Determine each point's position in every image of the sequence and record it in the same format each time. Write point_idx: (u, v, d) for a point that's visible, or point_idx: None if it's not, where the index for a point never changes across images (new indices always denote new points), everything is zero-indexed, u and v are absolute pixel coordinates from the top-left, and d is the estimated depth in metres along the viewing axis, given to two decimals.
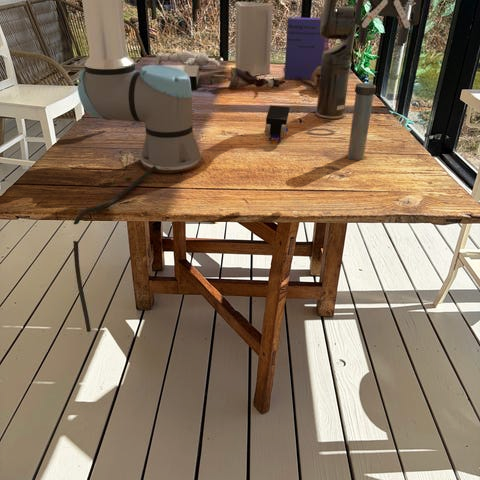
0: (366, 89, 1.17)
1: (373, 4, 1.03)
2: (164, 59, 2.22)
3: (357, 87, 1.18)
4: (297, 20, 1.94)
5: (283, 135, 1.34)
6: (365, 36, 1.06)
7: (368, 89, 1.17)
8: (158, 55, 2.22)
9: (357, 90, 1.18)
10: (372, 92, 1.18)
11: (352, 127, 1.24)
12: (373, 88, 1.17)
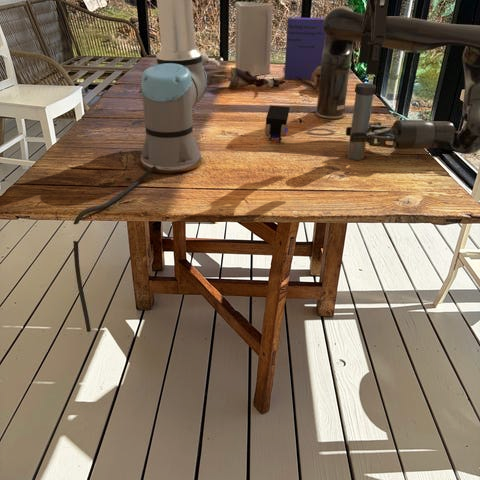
0: (366, 89, 1.17)
1: None
2: None
3: (357, 87, 1.18)
4: (297, 20, 1.94)
5: (283, 135, 1.34)
6: None
7: (368, 89, 1.17)
8: None
9: (357, 90, 1.18)
10: (372, 92, 1.18)
11: (352, 127, 1.24)
12: (373, 88, 1.17)
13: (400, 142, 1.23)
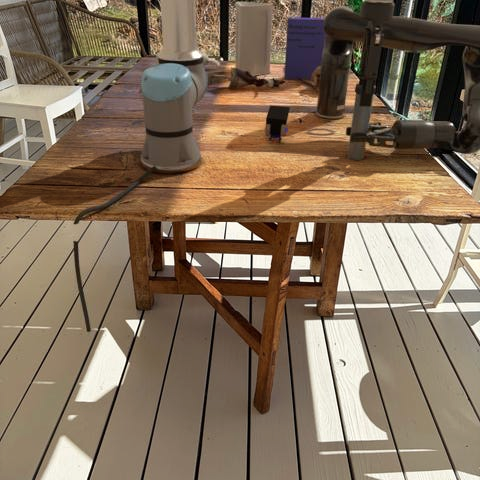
0: None
1: None
2: None
3: (357, 87, 1.18)
4: (297, 20, 1.94)
5: (283, 135, 1.34)
6: None
7: None
8: None
9: (357, 90, 1.18)
10: None
11: (352, 127, 1.24)
12: (373, 88, 1.17)
13: (400, 142, 1.23)
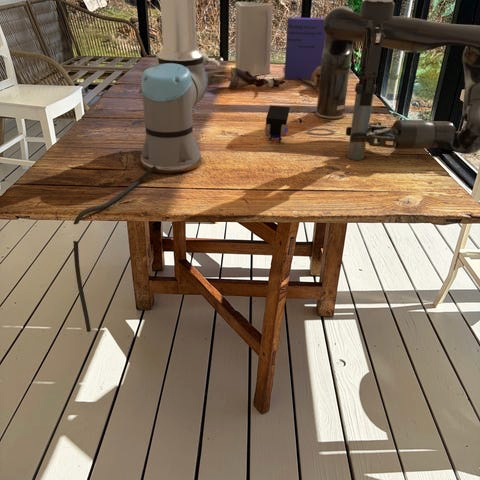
0: None
1: None
2: None
3: (374, 87, 1.17)
4: (297, 20, 1.94)
5: (283, 135, 1.34)
6: None
7: None
8: None
9: (374, 90, 1.18)
10: None
11: (352, 127, 1.24)
12: None
13: (400, 142, 1.23)
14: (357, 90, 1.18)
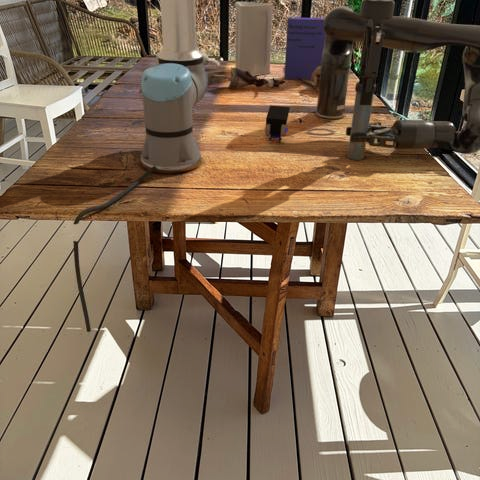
0: None
1: None
2: None
3: None
4: (297, 20, 1.94)
5: (283, 135, 1.34)
6: None
7: None
8: None
9: None
10: (355, 88, 1.20)
11: (352, 127, 1.24)
12: (356, 84, 1.19)
13: (400, 142, 1.23)
14: (374, 90, 1.18)
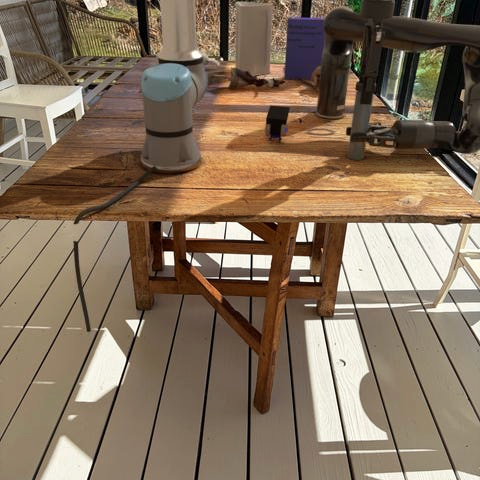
0: None
1: None
2: None
3: (356, 84, 1.18)
4: (297, 20, 1.94)
5: (283, 135, 1.34)
6: None
7: None
8: None
9: (356, 87, 1.19)
10: None
11: (352, 127, 1.24)
12: None
13: (400, 142, 1.23)
14: None
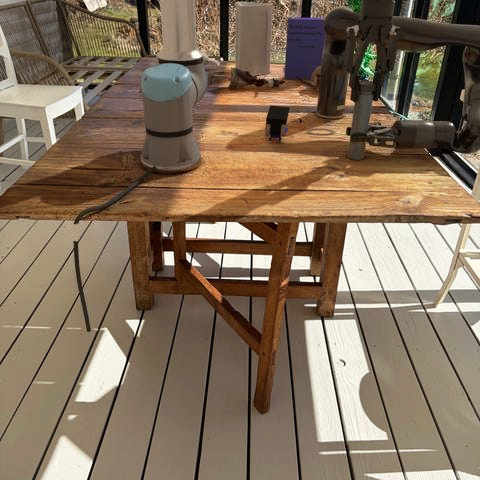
0: None
1: None
2: None
3: (371, 86, 1.17)
4: (297, 20, 1.94)
5: (283, 135, 1.34)
6: None
7: None
8: None
9: (372, 89, 1.17)
10: None
11: (352, 127, 1.24)
12: None
13: (400, 142, 1.23)
14: None
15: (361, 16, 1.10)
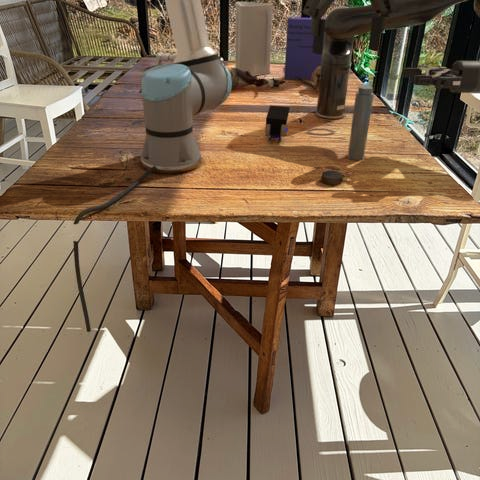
0: None
1: None
2: (164, 59, 2.22)
3: (338, 179, 1.12)
4: (297, 20, 1.94)
5: (283, 135, 1.34)
6: (411, 68, 1.21)
7: None
8: (158, 55, 2.22)
9: (339, 181, 1.13)
10: None
11: (352, 127, 1.24)
12: None
13: (461, 83, 1.15)
14: (322, 179, 1.14)
15: None
